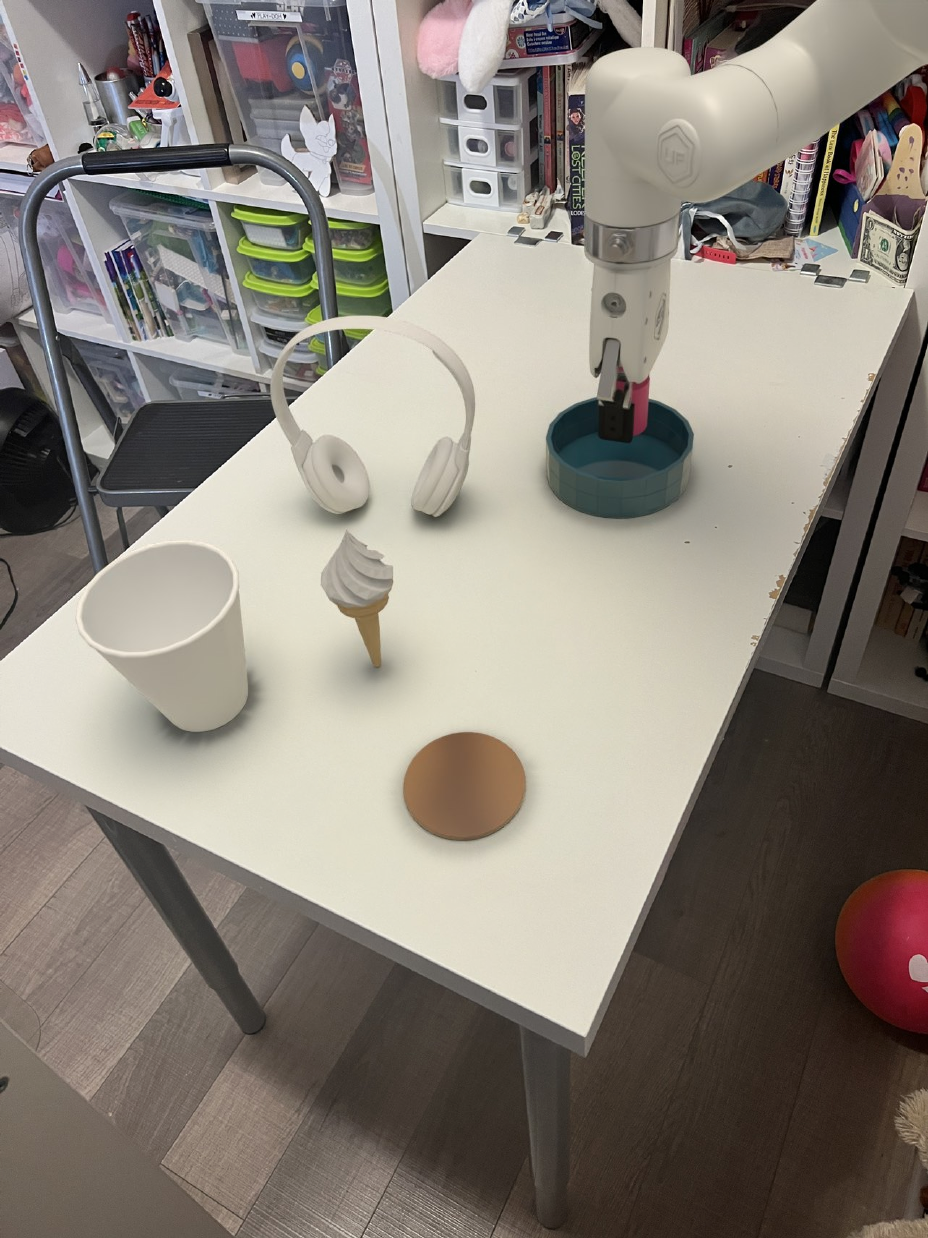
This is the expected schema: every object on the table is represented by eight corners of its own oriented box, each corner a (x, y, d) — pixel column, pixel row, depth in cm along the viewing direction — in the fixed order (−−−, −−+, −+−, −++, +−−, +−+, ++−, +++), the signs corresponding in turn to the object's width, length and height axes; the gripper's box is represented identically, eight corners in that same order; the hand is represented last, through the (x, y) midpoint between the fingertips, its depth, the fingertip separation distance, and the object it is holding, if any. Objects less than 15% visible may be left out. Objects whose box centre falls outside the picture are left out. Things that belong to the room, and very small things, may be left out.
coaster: (495, 719, 69) (495, 715, 69) (546, 811, 63) (546, 807, 63) (387, 762, 67) (386, 758, 67) (430, 860, 61) (429, 856, 61)
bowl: (642, 417, 95) (645, 380, 91) (716, 490, 86) (723, 452, 82) (524, 456, 92) (522, 419, 89) (588, 535, 83) (589, 498, 79)
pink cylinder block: (631, 406, 86) (634, 360, 82) (655, 429, 83) (659, 382, 80) (591, 419, 85) (592, 373, 82) (614, 443, 82) (616, 396, 79)
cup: (194, 629, 79) (146, 524, 70) (306, 667, 74) (270, 560, 65) (105, 731, 72) (38, 628, 63) (223, 778, 67) (170, 676, 58)
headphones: (313, 481, 92) (265, 300, 77) (488, 485, 89) (473, 298, 74) (294, 527, 87) (240, 343, 72) (478, 533, 84) (460, 343, 70)
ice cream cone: (331, 673, 74) (291, 539, 63) (373, 630, 77) (341, 495, 66) (383, 701, 71) (351, 566, 60) (424, 656, 74) (400, 519, 63)
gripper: (651, 284, 65) (639, 483, 78) (700, 192, 75) (682, 382, 88) (553, 275, 67) (557, 469, 80) (614, 187, 77) (609, 372, 91)
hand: (623, 422), depth 84 cm, fingers closed on pink cylinder block, 4 cm apart
